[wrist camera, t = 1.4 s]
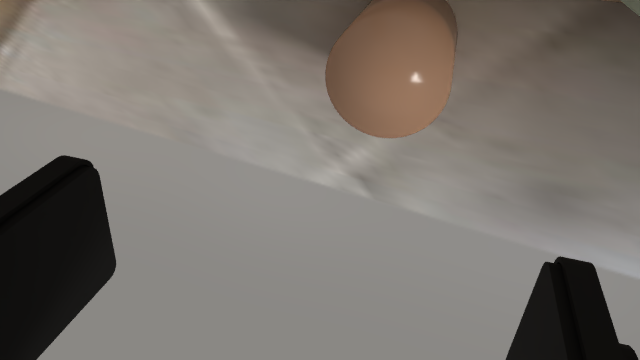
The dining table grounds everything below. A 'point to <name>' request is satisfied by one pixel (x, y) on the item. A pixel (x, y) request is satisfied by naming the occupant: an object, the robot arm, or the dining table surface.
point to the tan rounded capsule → (394, 66)
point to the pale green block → (633, 5)
